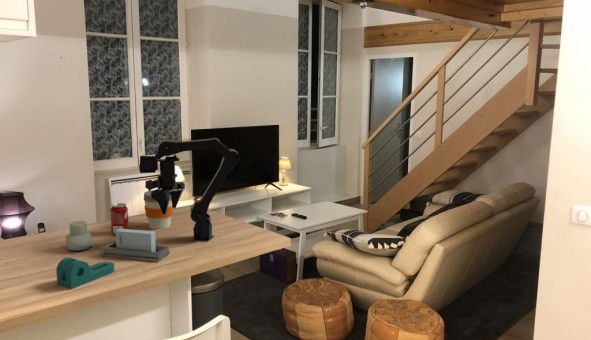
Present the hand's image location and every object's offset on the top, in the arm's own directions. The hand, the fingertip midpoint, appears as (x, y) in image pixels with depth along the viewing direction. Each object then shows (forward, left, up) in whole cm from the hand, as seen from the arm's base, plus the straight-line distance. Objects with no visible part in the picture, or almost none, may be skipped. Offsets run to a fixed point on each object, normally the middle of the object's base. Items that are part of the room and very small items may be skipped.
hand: (169, 211), depth 194 cm
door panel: (+4, +19, -11) cm, 22 cm away
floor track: (+4, +19, -12) cm, 23 cm away
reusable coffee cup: (+13, -16, -12) cm, 24 cm away
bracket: (+8, +41, -12) cm, 43 cm away
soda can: (+24, -3, -12) cm, 27 cm away
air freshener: (+28, +18, -12) cm, 35 cm away
